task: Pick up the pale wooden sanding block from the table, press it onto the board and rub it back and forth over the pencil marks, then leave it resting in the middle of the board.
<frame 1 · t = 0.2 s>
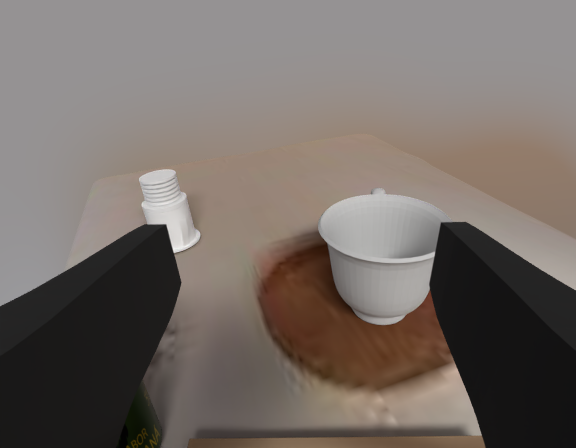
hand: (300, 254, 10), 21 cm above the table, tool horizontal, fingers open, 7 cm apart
downlight: (175, 242, 53), on the table
teacup: (377, 297, 40), on the table
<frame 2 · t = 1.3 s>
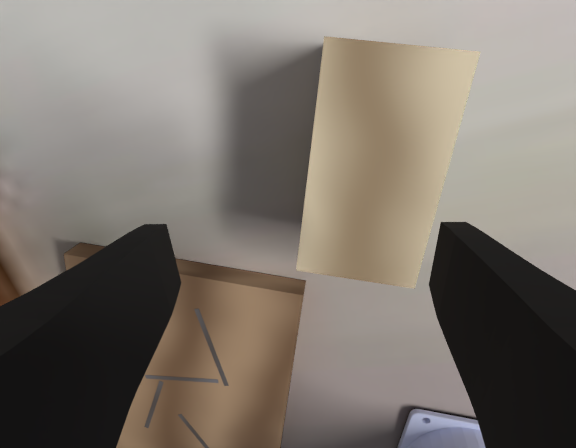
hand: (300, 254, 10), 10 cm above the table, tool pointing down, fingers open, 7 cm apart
board: (189, 383, 26), on the table
sanding block: (366, 149, 18), on the table
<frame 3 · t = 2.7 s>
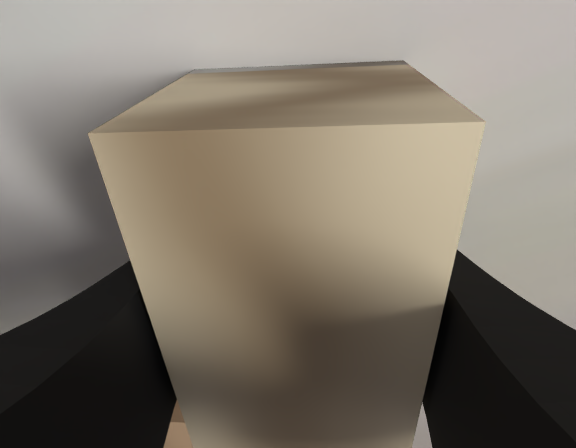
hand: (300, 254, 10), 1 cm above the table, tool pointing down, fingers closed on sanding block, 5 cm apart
sanding block: (302, 225, 11), on the table, touching gripper
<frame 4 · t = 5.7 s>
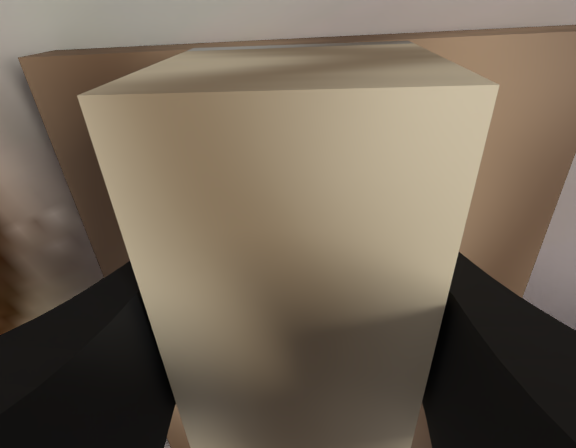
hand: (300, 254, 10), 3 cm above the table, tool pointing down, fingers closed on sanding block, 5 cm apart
board: (308, 312, 15), on the table
sanding block: (302, 212, 11), point 2 cm above the table, touching board, gripper
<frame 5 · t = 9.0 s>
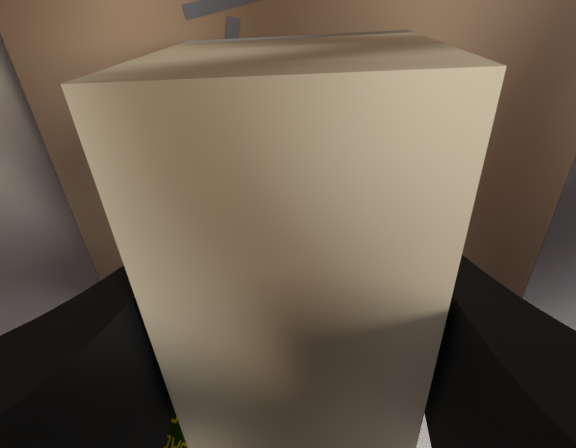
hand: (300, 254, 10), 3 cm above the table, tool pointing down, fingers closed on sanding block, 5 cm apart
board: (299, 71, 10), on the table
guarana soda can: (170, 393, 19), on the table
sanding block: (301, 209, 11), point 2 cm above the table, touching gripper
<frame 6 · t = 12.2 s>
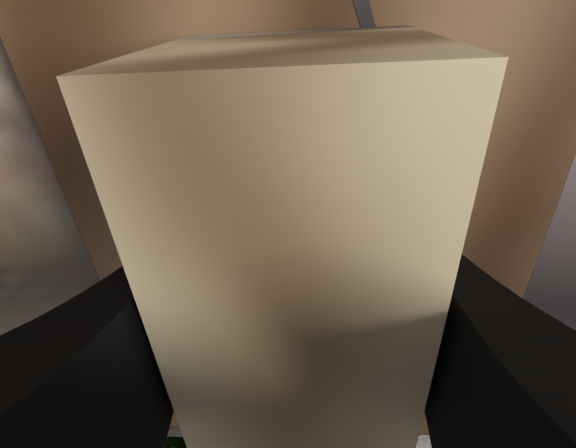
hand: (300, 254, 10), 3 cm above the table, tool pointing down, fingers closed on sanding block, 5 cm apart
board: (303, 222, 13), on the table
guarana soda can: (190, 445, 21), on the table
sanding block: (300, 206, 11), point 2 cm above the table, touching gripper
when the fingers open (3 cm above the table, at t = 15.2 s): sanding block stays where it is, resting on board.
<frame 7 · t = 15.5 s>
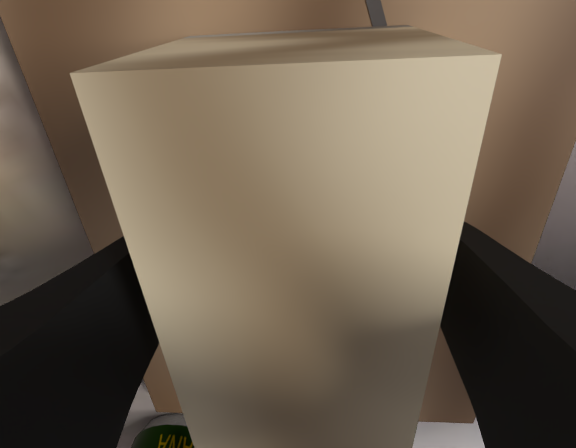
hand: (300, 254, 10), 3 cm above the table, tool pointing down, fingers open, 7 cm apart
board: (304, 202, 13), on the table
guarana soda can: (188, 435, 21), on the table
sanding block: (302, 203, 11), point 2 cm above the table, touching board
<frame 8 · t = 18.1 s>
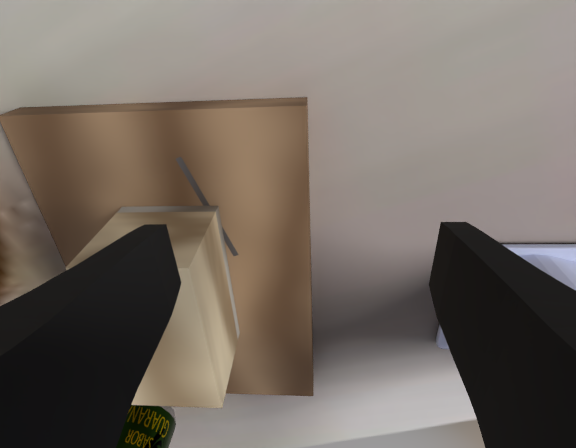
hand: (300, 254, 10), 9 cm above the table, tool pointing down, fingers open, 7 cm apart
board: (196, 269, 23), on the table
guarana soda can: (147, 408, 31), on the table
sanding block: (186, 275, 21), point 2 cm above the table, touching board
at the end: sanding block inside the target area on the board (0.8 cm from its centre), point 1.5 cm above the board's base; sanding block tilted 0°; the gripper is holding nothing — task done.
